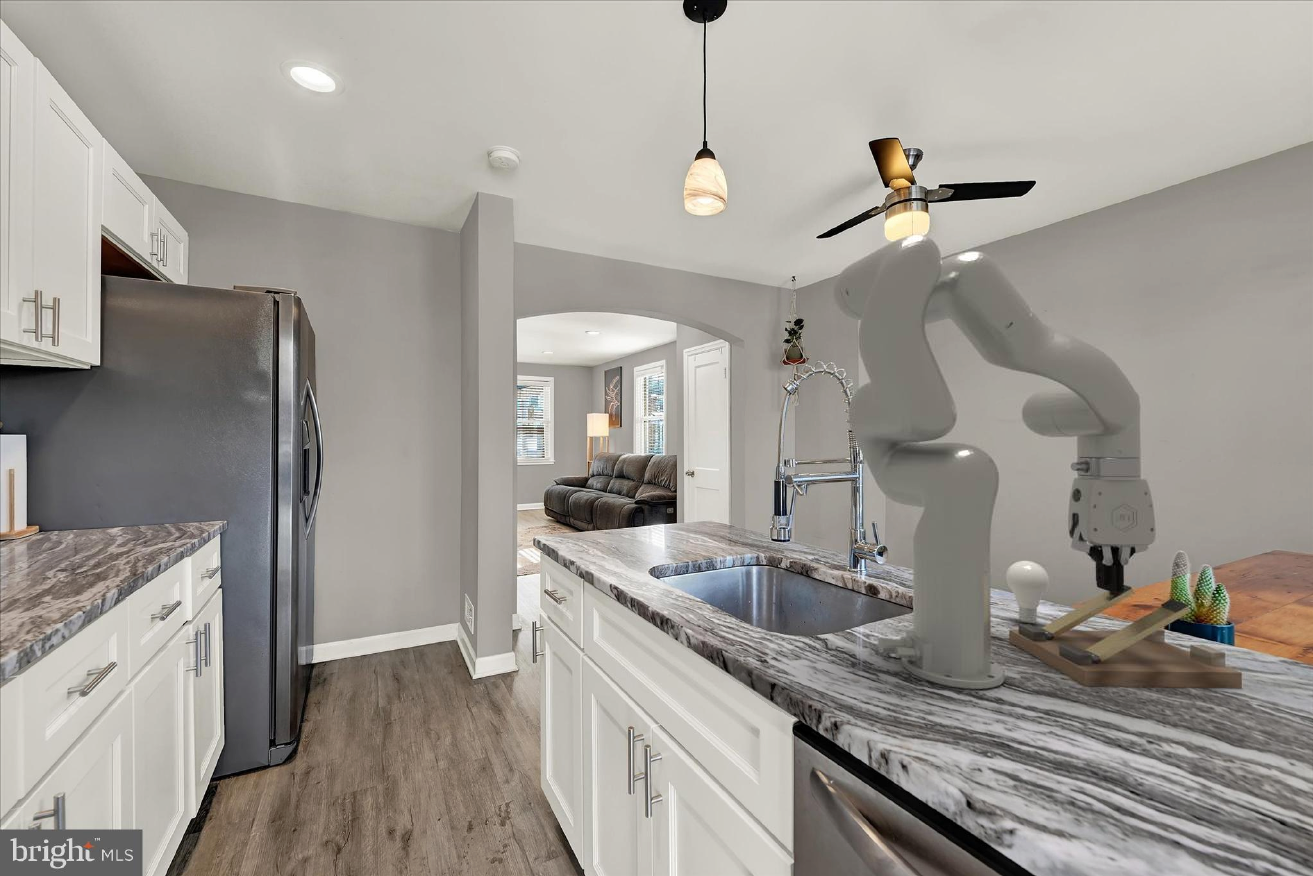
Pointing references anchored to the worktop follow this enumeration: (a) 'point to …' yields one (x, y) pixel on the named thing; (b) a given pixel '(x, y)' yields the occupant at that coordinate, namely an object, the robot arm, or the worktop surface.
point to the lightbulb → (1027, 587)
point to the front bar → (1138, 630)
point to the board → (1128, 660)
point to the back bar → (1085, 612)
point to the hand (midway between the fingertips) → (1109, 589)
